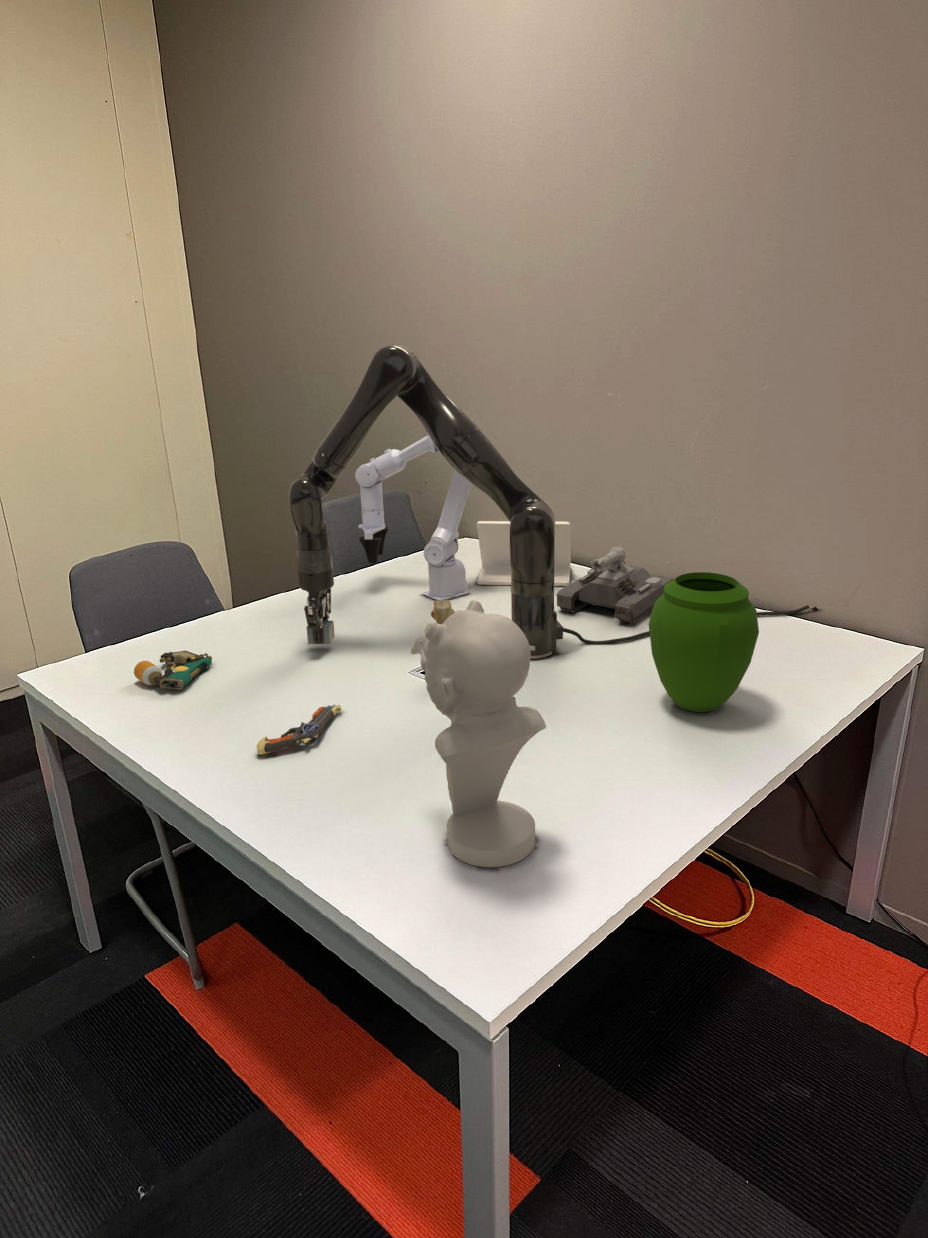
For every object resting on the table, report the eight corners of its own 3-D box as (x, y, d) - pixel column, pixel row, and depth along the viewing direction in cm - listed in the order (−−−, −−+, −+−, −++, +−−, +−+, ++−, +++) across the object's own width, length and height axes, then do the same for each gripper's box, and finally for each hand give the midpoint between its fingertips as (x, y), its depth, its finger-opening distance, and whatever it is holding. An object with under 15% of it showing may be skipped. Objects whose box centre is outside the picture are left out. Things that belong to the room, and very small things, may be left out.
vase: (763, 694, 164) (775, 574, 156) (734, 737, 149) (746, 606, 140) (665, 674, 174) (672, 560, 166) (628, 712, 159) (634, 588, 150)
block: (313, 637, 194) (311, 620, 193) (334, 637, 194) (333, 620, 192) (307, 644, 190) (306, 626, 189) (330, 644, 190) (328, 627, 188)
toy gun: (251, 744, 146) (305, 742, 144) (292, 702, 164) (341, 700, 162) (254, 759, 147) (308, 756, 145) (295, 715, 165) (344, 713, 163)
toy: (603, 584, 229) (605, 530, 224) (673, 597, 218) (677, 540, 213) (555, 612, 210) (556, 553, 205) (630, 627, 199) (633, 566, 194)
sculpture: (458, 662, 183) (456, 596, 178) (460, 676, 176) (457, 608, 171) (431, 663, 183) (428, 597, 177) (431, 677, 176) (428, 609, 171)
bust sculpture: (481, 772, 140) (476, 569, 128) (565, 848, 120) (569, 617, 108) (392, 800, 134) (378, 588, 121) (465, 886, 114) (457, 642, 101)
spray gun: (177, 659, 191) (231, 671, 185) (120, 684, 176) (176, 698, 171) (176, 641, 190) (230, 653, 184) (118, 665, 175) (174, 678, 169)
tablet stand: (569, 585, 229) (570, 524, 223) (476, 584, 232) (475, 523, 226) (570, 566, 246) (571, 508, 240) (484, 564, 249) (483, 507, 243)
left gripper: (363, 502, 231) (366, 550, 236) (351, 515, 218) (355, 566, 222) (389, 502, 230) (392, 550, 235) (378, 515, 217) (381, 566, 222)
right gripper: (307, 556, 193) (313, 627, 199) (288, 576, 180) (296, 651, 186) (339, 557, 192) (345, 628, 198) (323, 576, 179) (330, 651, 185)
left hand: (375, 558), depth 229 cm, fingers open, 7 cm apart
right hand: (321, 638), depth 192 cm, fingers closed on block, 4 cm apart
